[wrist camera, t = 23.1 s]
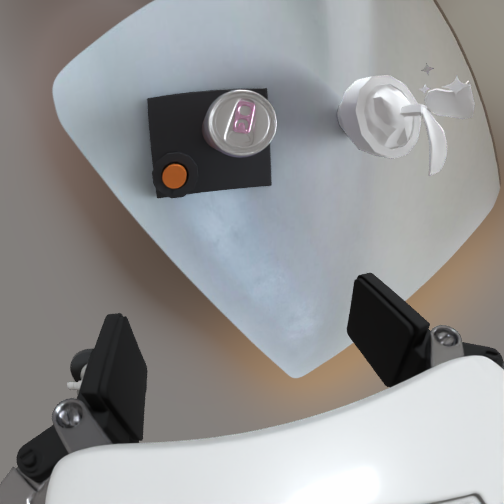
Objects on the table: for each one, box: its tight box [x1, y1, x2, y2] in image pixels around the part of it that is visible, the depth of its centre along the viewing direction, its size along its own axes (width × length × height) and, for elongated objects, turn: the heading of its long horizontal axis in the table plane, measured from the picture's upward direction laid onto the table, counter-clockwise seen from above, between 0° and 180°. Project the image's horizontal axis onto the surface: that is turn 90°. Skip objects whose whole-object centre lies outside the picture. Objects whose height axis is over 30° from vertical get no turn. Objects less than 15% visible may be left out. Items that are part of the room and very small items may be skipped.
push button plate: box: [147, 88, 271, 198], centre depth 33 cm, size 16×14×3 cm
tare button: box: [162, 164, 187, 189], centre depth 33 cm, size 3×3×2 cm
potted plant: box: [337, 63, 475, 176], centre depth 26 cm, size 13×12×25 cm
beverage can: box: [202, 90, 277, 157], centre depth 27 cm, size 6×6×15 cm
